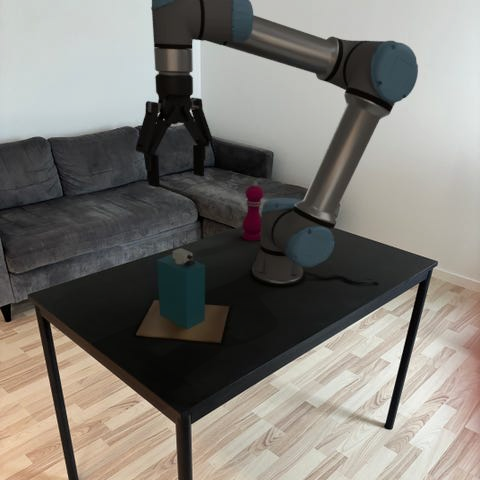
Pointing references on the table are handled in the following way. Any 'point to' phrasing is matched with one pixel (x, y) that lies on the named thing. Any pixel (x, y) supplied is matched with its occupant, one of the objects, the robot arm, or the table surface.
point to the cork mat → (167, 329)
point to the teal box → (181, 288)
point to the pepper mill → (253, 213)
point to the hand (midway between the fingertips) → (177, 180)
